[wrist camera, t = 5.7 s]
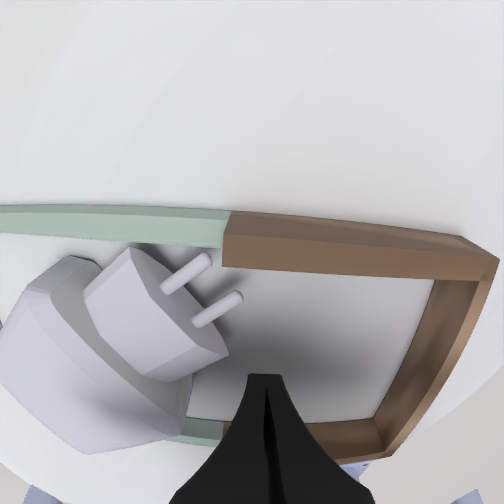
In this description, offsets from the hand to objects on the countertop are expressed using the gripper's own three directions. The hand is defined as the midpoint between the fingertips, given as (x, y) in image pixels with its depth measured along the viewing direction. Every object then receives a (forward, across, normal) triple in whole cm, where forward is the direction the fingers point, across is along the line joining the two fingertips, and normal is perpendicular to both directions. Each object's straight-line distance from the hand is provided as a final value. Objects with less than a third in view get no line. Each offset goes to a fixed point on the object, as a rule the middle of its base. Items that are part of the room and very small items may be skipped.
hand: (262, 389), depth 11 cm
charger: (+3, +7, 0) cm, 8 cm away
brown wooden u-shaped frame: (+2, -4, 0) cm, 4 cm away
